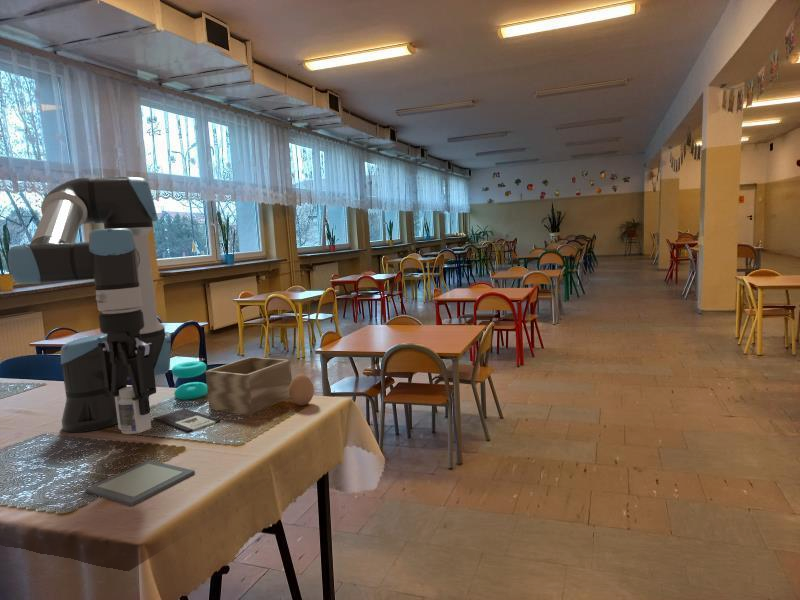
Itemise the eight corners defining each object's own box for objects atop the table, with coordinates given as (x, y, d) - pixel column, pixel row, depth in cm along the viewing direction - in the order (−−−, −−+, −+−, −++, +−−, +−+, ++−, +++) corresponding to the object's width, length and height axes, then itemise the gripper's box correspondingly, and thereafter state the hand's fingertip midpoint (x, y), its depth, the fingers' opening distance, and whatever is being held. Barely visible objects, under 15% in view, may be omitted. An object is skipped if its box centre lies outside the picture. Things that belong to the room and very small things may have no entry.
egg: (303, 410, 144) (300, 378, 143) (285, 407, 148) (282, 375, 147) (319, 403, 150) (317, 372, 149) (301, 400, 153) (299, 370, 152)
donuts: (164, 368, 160) (184, 360, 169) (167, 400, 161) (188, 390, 171) (193, 368, 157) (212, 360, 167) (197, 401, 159) (215, 391, 168)
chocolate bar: (184, 408, 150) (220, 419, 139) (185, 411, 150) (220, 423, 139) (153, 417, 143) (187, 430, 132) (153, 421, 144) (187, 434, 132)
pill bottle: (137, 434, 101) (132, 392, 100) (115, 434, 102) (110, 391, 101) (153, 425, 106) (149, 384, 105) (133, 425, 107) (128, 384, 106)
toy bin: (209, 409, 150) (205, 371, 149) (254, 391, 165) (250, 356, 164) (250, 415, 142) (246, 375, 141) (293, 396, 158) (290, 359, 156)
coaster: (85, 491, 103) (85, 488, 103) (149, 462, 115) (149, 459, 115) (131, 505, 96) (131, 502, 96) (194, 473, 108) (194, 470, 108)
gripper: (73, 312, 102) (89, 429, 105) (132, 314, 94) (147, 441, 96) (110, 307, 109) (124, 417, 111) (168, 308, 100) (182, 427, 103)
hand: (135, 428), depth 104 cm, fingers closed on pill bottle, 5 cm apart
